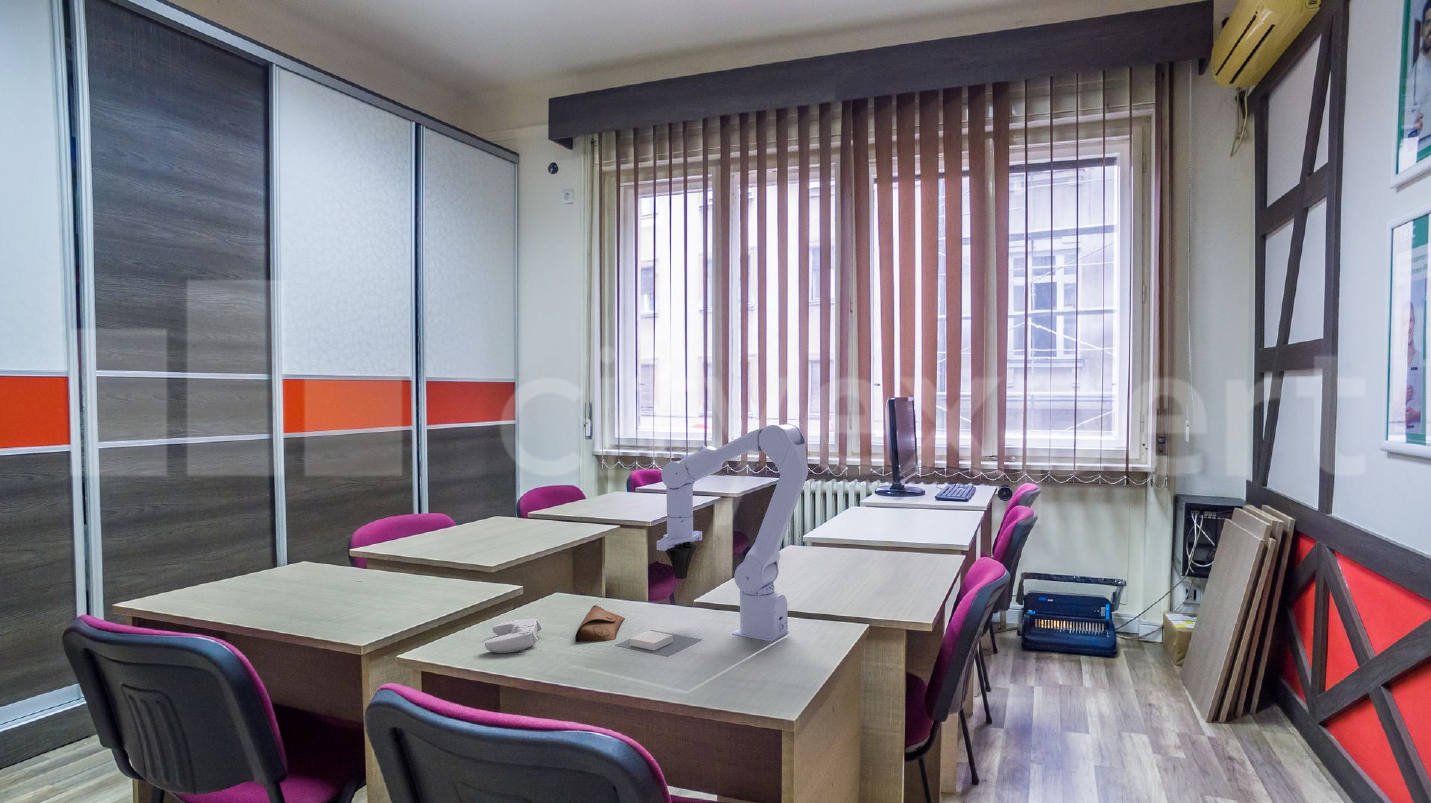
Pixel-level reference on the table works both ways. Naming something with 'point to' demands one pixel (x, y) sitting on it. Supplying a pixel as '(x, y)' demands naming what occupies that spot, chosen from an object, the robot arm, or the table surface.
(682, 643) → the mat
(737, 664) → the table surface
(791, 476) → the robot arm
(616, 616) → the sunglasses case
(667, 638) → the tile
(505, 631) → the game controller
